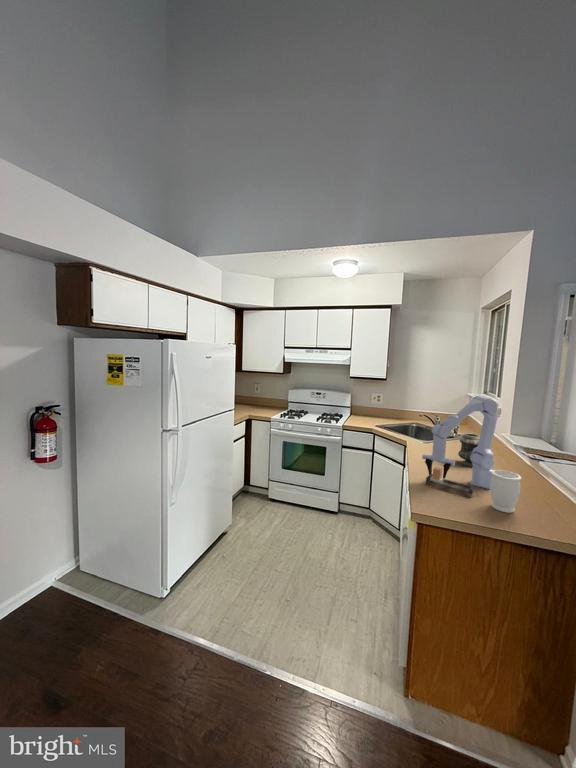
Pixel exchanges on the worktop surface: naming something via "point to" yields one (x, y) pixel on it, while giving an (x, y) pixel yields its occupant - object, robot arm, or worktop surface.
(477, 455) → the robot arm
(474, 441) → the apothecary jar
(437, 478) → the block
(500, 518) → the worktop surface
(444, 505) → the worktop surface
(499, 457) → the worktop surface
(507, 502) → the jar
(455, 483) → the rail board
